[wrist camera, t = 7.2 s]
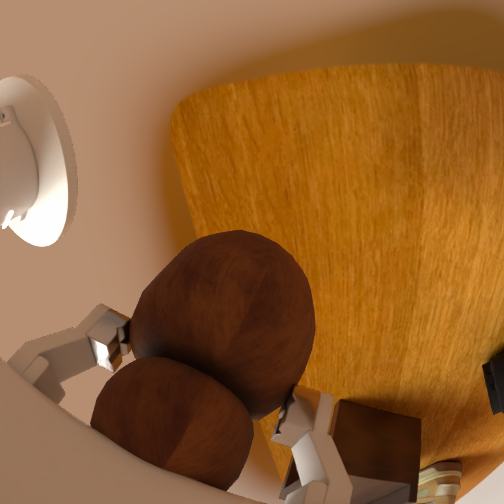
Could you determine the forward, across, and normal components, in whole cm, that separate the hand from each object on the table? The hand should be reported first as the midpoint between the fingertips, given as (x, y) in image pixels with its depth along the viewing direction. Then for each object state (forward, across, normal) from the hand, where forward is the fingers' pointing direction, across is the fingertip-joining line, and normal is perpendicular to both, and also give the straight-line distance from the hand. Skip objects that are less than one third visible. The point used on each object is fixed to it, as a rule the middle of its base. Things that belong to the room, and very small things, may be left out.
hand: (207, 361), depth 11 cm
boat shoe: (+15, -40, +46) cm, 62 cm away
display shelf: (+15, -18, +30) cm, 38 cm away
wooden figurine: (+6, 0, 0) cm, 6 cm away
